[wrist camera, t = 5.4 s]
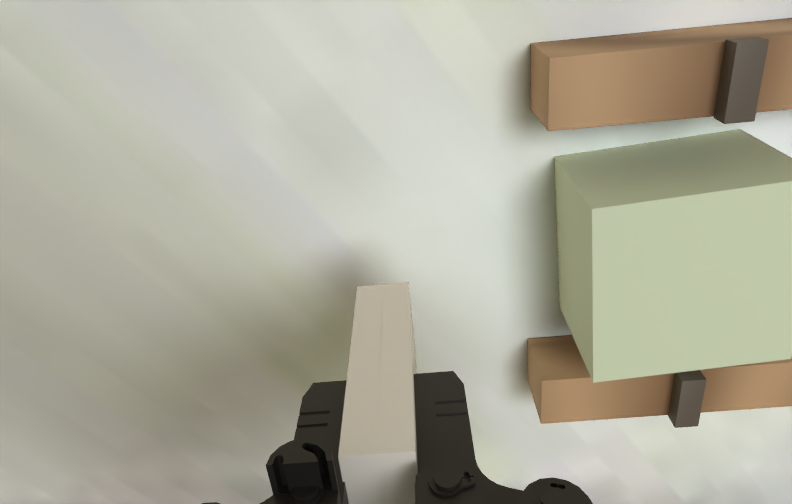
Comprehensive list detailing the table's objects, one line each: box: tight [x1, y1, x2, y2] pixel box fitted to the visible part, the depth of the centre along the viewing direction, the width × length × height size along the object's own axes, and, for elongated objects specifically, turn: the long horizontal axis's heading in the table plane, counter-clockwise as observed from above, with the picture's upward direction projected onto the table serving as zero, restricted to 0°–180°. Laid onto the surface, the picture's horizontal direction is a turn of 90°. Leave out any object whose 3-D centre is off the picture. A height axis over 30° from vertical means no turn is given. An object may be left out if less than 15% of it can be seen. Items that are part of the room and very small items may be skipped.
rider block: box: [554, 129, 792, 383], centre depth 19 cm, size 6×6×4 cm
